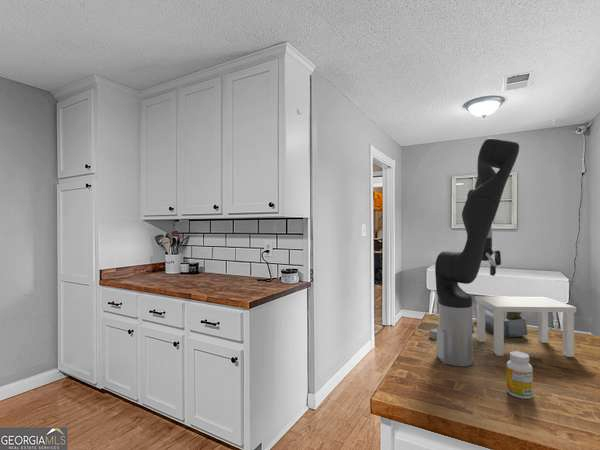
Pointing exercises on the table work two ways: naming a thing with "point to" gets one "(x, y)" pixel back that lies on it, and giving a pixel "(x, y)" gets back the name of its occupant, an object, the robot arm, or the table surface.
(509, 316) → the cork
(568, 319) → the low table
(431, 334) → the plain stick
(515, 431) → the table surface
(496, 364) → the table surface
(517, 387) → the supplement bottle
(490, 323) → the steel crook
